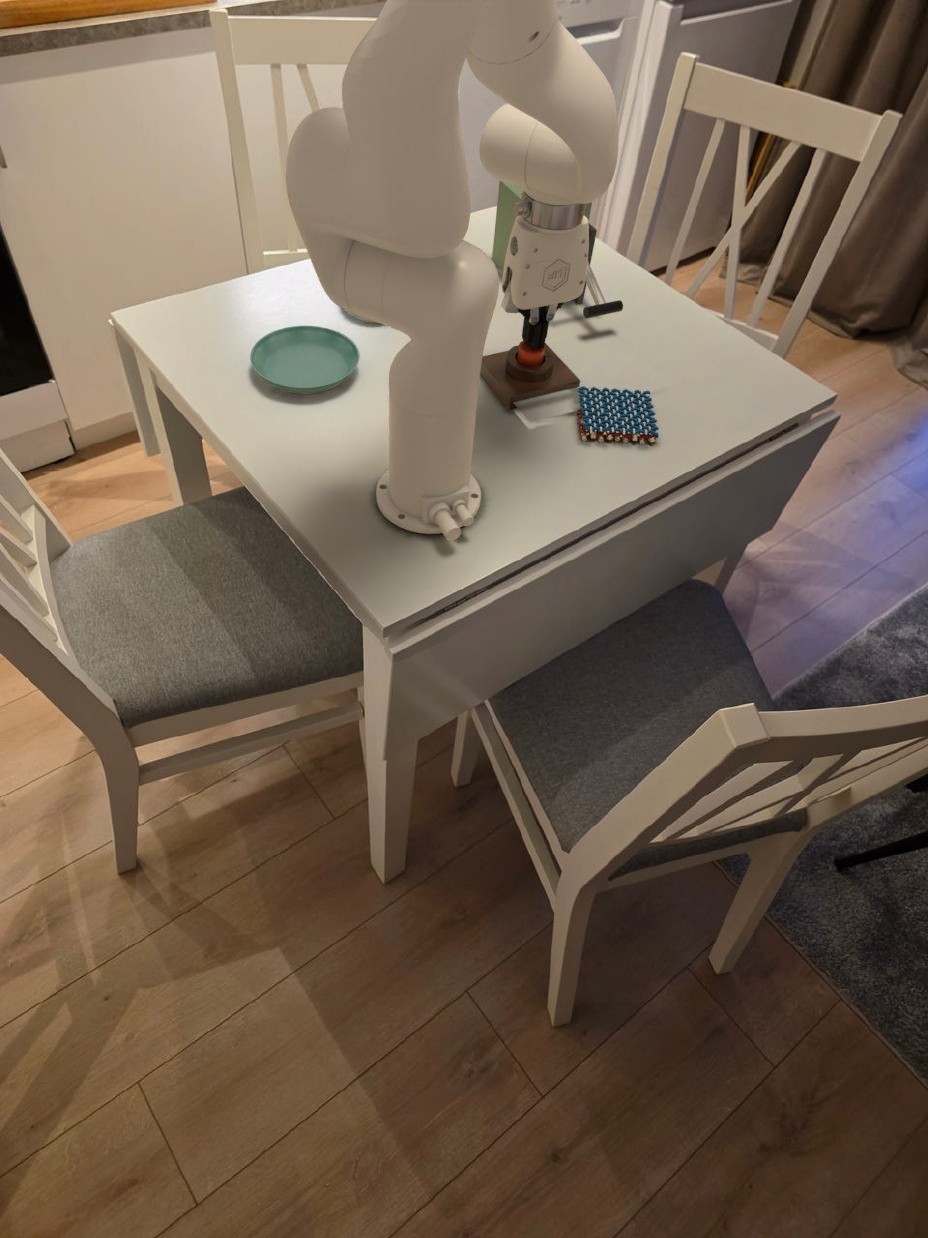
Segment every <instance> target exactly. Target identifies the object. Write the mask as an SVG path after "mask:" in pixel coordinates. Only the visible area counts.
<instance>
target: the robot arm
mask: <svg viewBox="0 0 928 1238" xmlns="http://www.w3.org/2000/svg"><path fill="white" fill-rule="evenodd" d="M465 61H466V62H467V65H468V66H469V67H468V68H470V70H471V72H472V74H473V75H474V77H475V78H476V79H477V81H479V83H481V84H482V85H483V86H484V87H485V88H487V89H488V90H489V91H490V92H492V93H493V94H494V95H495V96H496V97H498V98H500V99H501V100H502V101H504V102H505V104H503V105H501V106H500V107H499V108H497V109H496V110H495V111H494V112H493V114H491V116H490V117H489V118H488V119H487V121H486V123H485V125H484V127H483V128H482V129H483V130H482V132H481V135H480V140H479V158H480V161H481V165H482V166H483V168H484V170H485V171H486V173H488V174H489V175H490V176H491V177H493V178H494V179H496V180H498V181H502V182H505V183H509V184H512V185H515V186H519V187H522V188H524V189H523V192H522V198H521V201H520V202H519V203H514V205H513V213H514V215H515V216H517V217H516V219H515V222H514V225H513V228H512V232H511V235H510V239H509V243H508V247H507V252H506V257H505V263H504V270H503V272H502V280H501V290H502V293H503V294H504V295H503V298H502V301H501V305H500V306H501V308H502V309H503V311H504V312H505V313H507V314H520V315H522V316H523V324H522V329H521V331H522V332H521V338H522V341H524V342H525V343H526V344H527V345H528V346H529V347H530V348H531V349H532V351H535V350H537V349H543V348H544V345H545V343H546V339H547V337H548V331H549V324H550V322H551V321H553V320H554V318H555V315H556V312H557V311H558V310H559V309H561V308H562V306H563V304H566V303H569V302H570V301H573V299H576V298H577V297H579V296H580V295H581V294H582V292H583V289H584V284H585V279H586V272H587V263H588V252H589V224H590V223H589V222H588V219H587V217H586V216H584V211H585V205H586V204H587V203H591V202H592V203H594V202H596V201H597V200H599V199H600V198H601V197H602V196H603V195H605V193H606V191H607V190H608V189H609V187H610V185H611V183H612V182H613V181H612V180H613V178H614V175H615V172H616V168H617V164H618V157H619V156H618V154H619V123H618V110H617V103H616V98H615V94H614V91H613V89H612V86H611V84H610V83H609V81H608V79H607V77H606V75H605V74H604V73H603V72H602V70H601V68H600V67H599V66H598V65H597V64H596V62H595V61H594V59H592V57H591V56H590V55H589V53H588V51H586V50H585V48H584V47H583V46H582V44H581V43H580V42H579V40H577V39H576V37H575V36H574V35H573V34H572V33H571V32H570V31H569V30H568V29H567V28H566V27H565V26H564V25H563V24H562V23H561V22H560V18H559V9H558V1H557V0H385V3H384V5H383V7H382V9H381V11H380V13H379V15H378V16H377V18H376V20H375V21H374V23H373V24H372V26H371V27H370V29H369V30H368V31H367V32H366V34H365V35H364V36H363V38H362V39H361V40H360V41H359V43H358V44H357V46H356V48H355V49H354V51H353V53H352V54H351V56H350V58H349V60H348V63H347V65H346V68H345V71H344V74H343V78H342V82H341V102H342V107H336V106H335V107H334V106H333V107H330V106H329V107H322V108H319V109H316V110H314V111H312V112H310V113H309V114H308V115H306V116H305V117H304V118H303V119H302V120H301V122H300V123H299V124H298V125H297V127H296V128H295V130H294V132H293V134H292V136H291V138H290V142H289V145H288V149H287V155H286V161H285V162H286V163H285V185H286V186H285V187H286V193H287V200H288V203H289V208H290V210H291V213H292V216H293V219H294V221H295V224H296V227H297V229H298V231H299V234H300V237H301V240H302V242H303V244H304V247H305V249H306V252H307V254H308V256H309V259H310V262H311V264H312V267H313V268H314V271H315V274H316V277H317V279H318V282H319V283H320V285H321V287H322V289H323V291H324V293H325V295H327V297H328V299H329V300H330V301H331V303H333V304H335V305H336V306H337V307H338V308H341V309H342V310H344V311H346V312H347V311H349V312H351V313H353V314H356V315H358V316H361V317H364V318H367V319H370V320H372V321H375V322H374V323H378V324H381V325H384V326H386V327H390V328H391V329H394V330H396V331H399V332H401V333H403V334H405V335H407V336H408V337H409V338H410V341H408V342H407V343H406V344H405V345H404V346H403V347H402V348H401V349H400V350H399V351H398V352H397V353H396V355H395V356H394V357H393V359H392V362H391V365H390V368H389V372H388V461H389V462H388V469H387V470H386V471H384V473H383V474H382V475H381V476H380V478H379V480H378V482H377V485H376V489H375V490H376V491H375V495H376V497H375V498H376V505H377V506H378V509H379V511H380V512H381V514H382V515H383V516H384V517H385V518H386V519H387V520H388V521H389V522H391V523H392V524H394V525H396V526H397V527H399V528H401V529H404V530H406V531H409V532H412V533H418V534H426V535H436V534H437V535H439V534H443V536H444V538H445V540H447V541H449V542H452V541H455V540H457V539H458V538H459V537H460V536H461V534H462V530H461V528H462V527H470V526H471V525H473V524H474V522H475V516H476V515H478V512H479V509H480V507H481V501H482V490H481V487H480V484H479V482H478V481H477V478H476V477H474V475H473V474H472V473H471V471H472V461H473V451H474V440H475V431H476V419H477V408H478V399H479V389H480V379H481V375H480V371H481V363H482V357H483V356H484V351H485V345H486V341H487V337H488V333H489V329H490V326H491V323H492V320H493V316H494V313H495V308H496V305H497V300H498V297H499V291H500V290H499V289H500V276H499V272H498V267H497V266H496V265H495V264H494V262H493V261H492V257H490V256H489V255H488V254H487V253H486V252H485V251H483V250H482V249H481V248H480V247H479V246H476V245H475V244H472V243H471V242H469V241H467V240H464V239H465V237H466V234H467V232H468V230H469V224H470V218H471V192H470V183H469V174H468V173H469V172H468V167H467V166H468V165H467V159H466V152H465V143H464V136H463V129H462V121H461V115H460V103H459V87H460V86H459V85H460V78H461V74H462V71H463V67H464V64H465ZM518 215H520V216H518ZM588 223H589V224H588ZM560 307H561V308H560Z"/></svg>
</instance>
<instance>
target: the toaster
mask: <svg viewBox="0 0 928 1238" xmlns="http://www.w3.org/2000/svg"><path fill="white" fill-rule="evenodd" d="M498 181H499V183H498V191H497V192H498V193H497V203H496V213H495V224H494V234H493V243H492V244H493V245H492V255H491V260H492V261H493V262H494V264H495V266H496V268H497V269H499V270H500V271H501V273H503V270H504V263H505V257H506V252H507V247H508V243H509V239H510V235H511V232H512V228H513V225H514V222H515V219H516V217H517V216H515V215H514V213H513V205H514V203H519V202H520V201H521V198H522V192H523V189H524V188H522V187H519V186H515V185H512V184H509V183H505V182H502V181H500V180H498ZM592 204H593V202H591V203H587V204H586V205H585V211H584V216H586V217H587V219H588V223H589V221H590V215H591V211H592V206H593V205H592ZM518 216H520V215H518Z"/></svg>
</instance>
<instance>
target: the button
mask: <svg viewBox="0 0 928 1238" xmlns="http://www.w3.org/2000/svg"><path fill="white" fill-rule="evenodd" d="M518 345H519V349H518V356H517V359H518V361H519V362H520V363H521V364H523V365H526V366H538V365H541V364H542V362H543V359H544V352H545V346H544V348H543V349H537V350H535V351H532V349H531V348H530V347H529V346H528V345H527V344H526V343H525V342H524V341H523V340H521V341H520V342H519V344H518Z"/></svg>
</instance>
